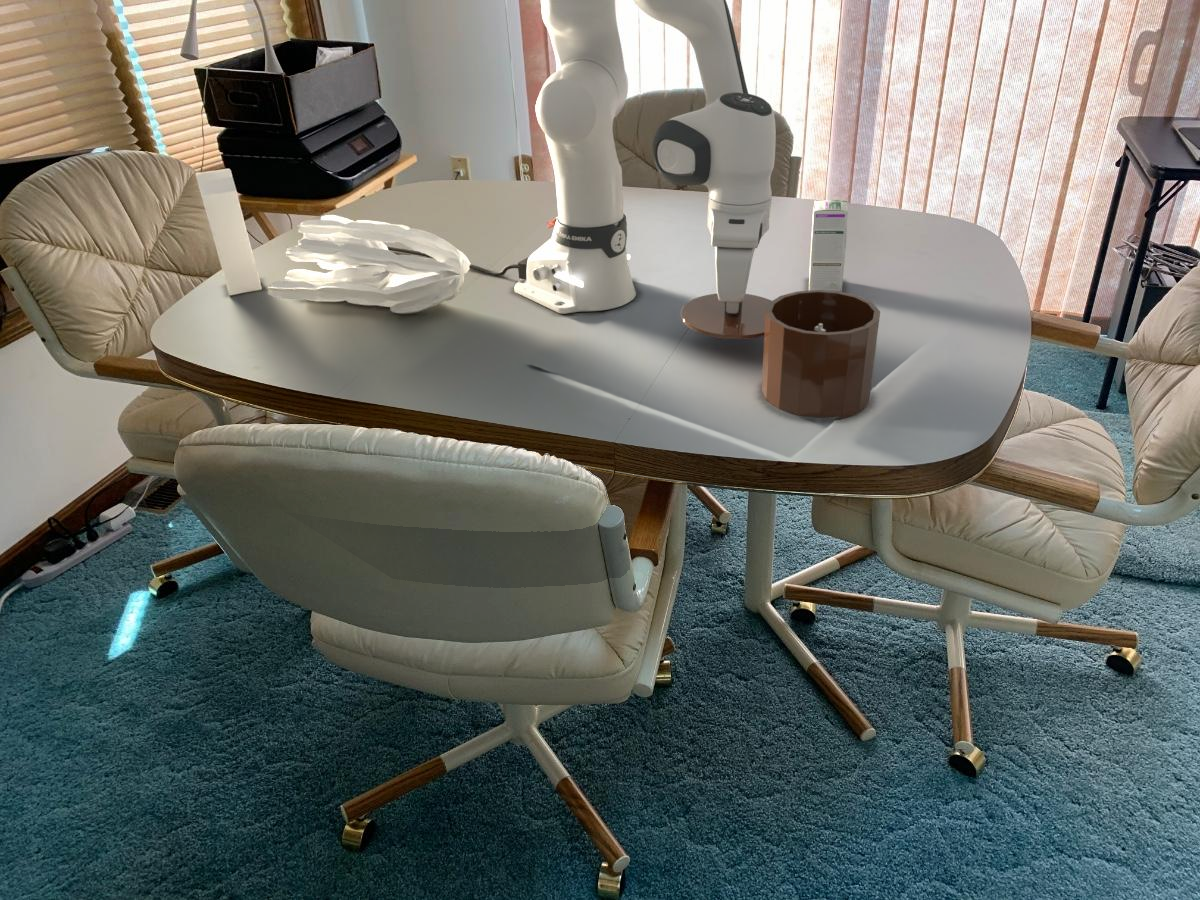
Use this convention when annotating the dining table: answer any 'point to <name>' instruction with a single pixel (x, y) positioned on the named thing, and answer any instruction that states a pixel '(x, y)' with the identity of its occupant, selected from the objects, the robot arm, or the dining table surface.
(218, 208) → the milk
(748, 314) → the lid
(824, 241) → the syrup box
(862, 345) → the crock
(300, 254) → the white jagged lobed bundle
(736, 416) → the dining table surface
